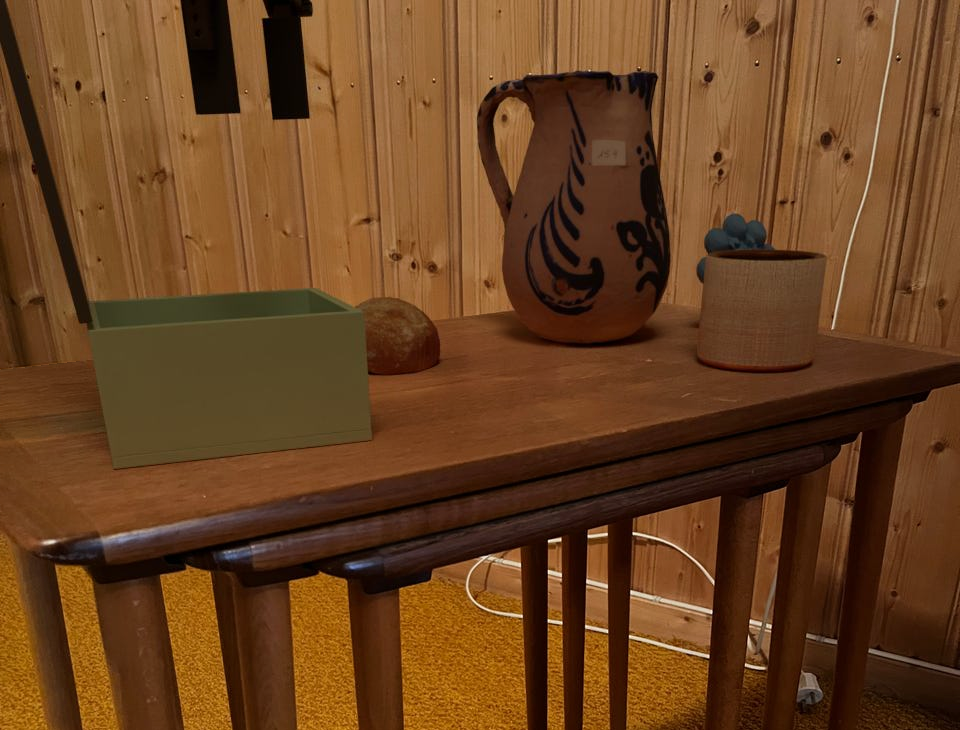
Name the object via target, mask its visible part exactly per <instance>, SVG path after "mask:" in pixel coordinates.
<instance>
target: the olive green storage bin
mask: <svg viewBox="0 0 960 730" xmlns="http://www.w3.org/2000/svg"><path fill="white" fill-rule="evenodd" d="M88 303H89V308H90V312H91V316H92V322H90V323H85V324H86V330H87V335H88V341H89V346H90V352H91V357H92V362H93V368H94V373H95V378H96V384H97V390H98V394H99V400H100V405H101V411H102V415H103V420H104V426H105V431H106V436H107V443H108V447H109V452H110V458H111V463H112V464H111V465H112V468H113V470H120V469H128V468H137V467H146V466H154V465H164V464H172V463H181V462H190V461H200V460H209V459H219V458H227V457H236V456H245V455H254V454H261V453H269V452H270V453H271V452H279V451H280V452H281V451H288V450H298V449H307V448H315V447H323V446H332V445H333V446H334V445H342V444H351V443H359V442H368V441H372V440H373V432H372V431H373V430H372V413H371V399H370V383H369V371H368V365H367V350H366V334H365V318H364V312H363V311H361V310H359V309H357V308H355V306H353V305H351V304H349V303H347V302H345V301H343V300H341V299H340V298H337V297H335V296H333V295H331V294H329V293H327V292H325V291H323V290H321V289H319V288H316V287H307V288H306V287H304V288H288V289H287V288H285V289H273V290H272V289H271V290H270V289H269V290H255V291H254V290H253V291H239V292H238V291H237V292H222V293H221V292H219V293H204V294H190V295H189V294H188V295H187V294H185V295H173V296H172V295H170V296H155V297H154V296H152V297H139V298H137V297H135V298H124V299H123V298H122V299H121V298H119V299H102V300H88Z"/></svg>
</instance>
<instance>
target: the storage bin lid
mask: <svg viewBox="0 0 960 730" xmlns="http://www.w3.org/2000/svg"><path fill="white" fill-rule="evenodd" d="M0 47H1V51H2V55H3V58H4V61H5V66H6V68H7V72H8V76H9V79H10V83H11V87H12V90H13V93H14V97H15V100H16V104H17V108H18V111H19V114H20V115H19V116H20V118H21V122H22V126H23V129H24V132H25V137H26V140H27V143H28V147H29V151H30V154H31V158H32V161H33V165H34V169H35V172H36V175H37V179H38V182H39V186H40V189H41V194H42V196H43V201H44V203H45V204H44V205H45V208H46V211H47V214H48V218H49V221H50V225H51V229H52V232H53V235H54V239H55V243H56V247H57V250H58V253H59V258H60V260H61V261H60V262H61V264H62V267H63V272H64V275H65V278H66V283H67V285H68V289H69V293H70V296H71V299H72V303H73V307H74V310H75V314H76V318H77V321H78V324H79V325H82V324H86V323H90V322H92V316H91V312H90V308H89V303H88V301H89V299H88V295H87V292H86V287H85V284H84V280H83V277H82V273H81V270H80V266H79V262H78V259H77V255H76V252H75V247H74V244H73V241H72V237H71V233H70V230H69V226H68V222H67V218H66V214H65V211H64V208H63V203H62V200H61V197H60V193H59V189H58V186H57V182H56V179H55V178H56V177H55V174H54V171H53V168H52V163H51V159H50V156H49V152H48V149H47V146H46V142H45V138H44V134H43V132H42V127H41V123H40V119H39V116H38V113H37V108H36V106H35V102H34V98H33V95H32V91H31V87H30V84H29V79H28V76H27V73H26V69H25V66H24V61H23V58H22V55H21V50H20V48H19V43H18V40H17V37H16V32H15V29H14V25H13V21H12V18H11V14H10V10H9V7H8V3H7V0H0Z"/></svg>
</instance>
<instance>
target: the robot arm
mask: <svg viewBox="0 0 960 730" xmlns="http://www.w3.org/2000/svg"><path fill="white" fill-rule="evenodd" d="M179 2H180V8H181V15H182V24H183V31H184V37H185V39H184V40H185V46H186V52H187V59H188V67H189V74H190V82H191V89H192V96H193V105H194V111H195V115H199V116H200V115H201V116H209V115H233V114H234V115H235V114H238V115H239V114H241V113H242V112H241V103H240V95H239V86H238V79H237V77H238V76H237V69H236V62H235V61H236V60H235V54H234V53H235V52H234V45H233V36H232V29H231V28H232V26H231V18H230V9H229V1H228V0H180V1H179ZM262 3H263V5H264V8H265V12H266V15H267V17H261V23H262V33H263V42H264V43H263V44H264V52H265V63H266V69H267V79H268V88H269V89H268V90H269V98H270V109H271V116H272V118H271V119H272V120H273V121H284V120H285V121H286V120H309V119H311V115H310V102H309V94H308V93H309V92H308V91H309V90H308V83H307V81H308V80H307V71H306V59H305V47H304V37H303V28H302V27H303V26H302V18H310V17H311V18H312V17H313V16H314V15H313V14H314V6H313V1H311V0H262Z"/></svg>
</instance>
